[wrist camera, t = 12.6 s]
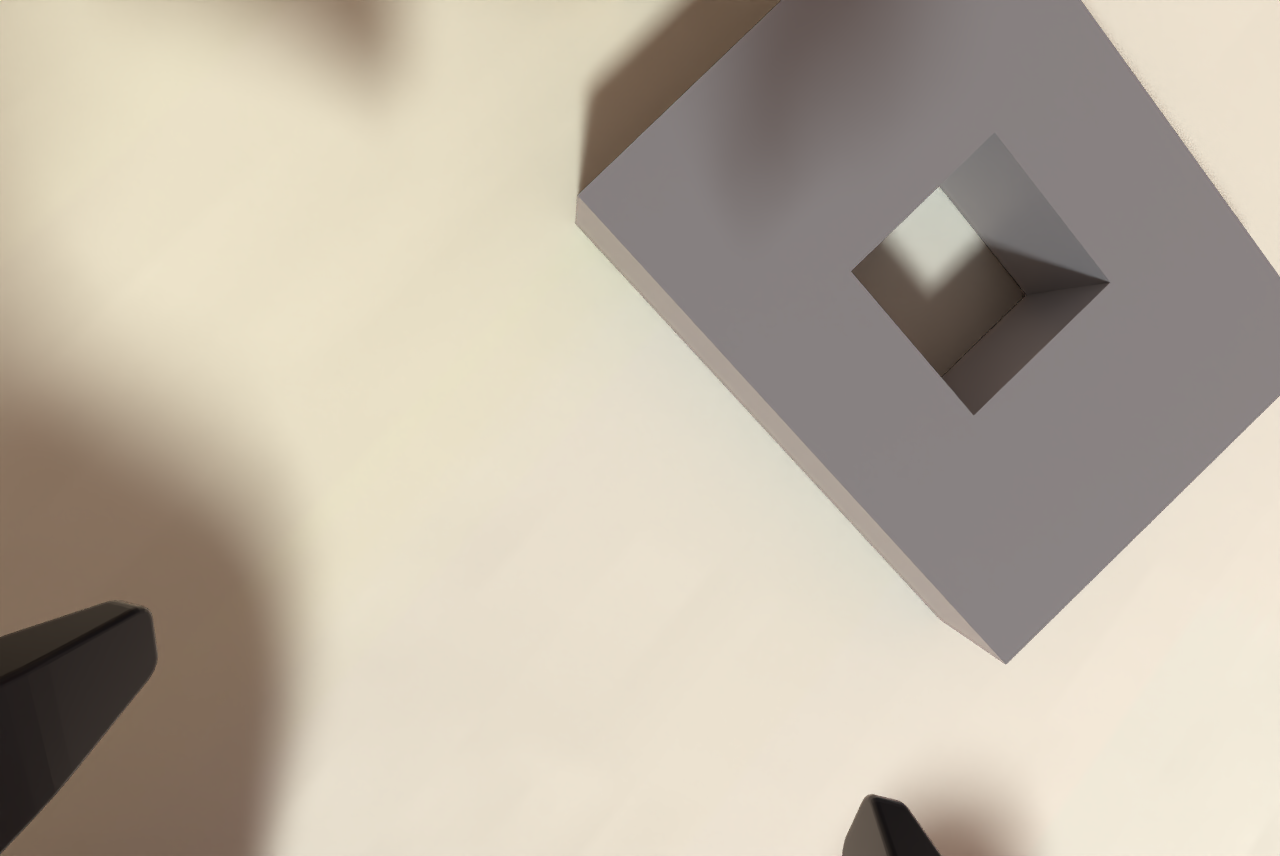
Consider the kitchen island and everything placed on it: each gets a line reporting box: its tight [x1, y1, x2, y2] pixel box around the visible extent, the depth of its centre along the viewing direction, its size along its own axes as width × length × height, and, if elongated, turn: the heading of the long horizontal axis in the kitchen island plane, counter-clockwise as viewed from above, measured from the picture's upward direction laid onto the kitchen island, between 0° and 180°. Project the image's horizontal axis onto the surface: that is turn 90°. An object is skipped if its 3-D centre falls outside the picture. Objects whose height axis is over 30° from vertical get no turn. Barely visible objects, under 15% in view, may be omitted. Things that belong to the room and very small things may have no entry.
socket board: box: [575, 0, 1280, 664], centre depth 17 cm, size 12×16×3 cm
